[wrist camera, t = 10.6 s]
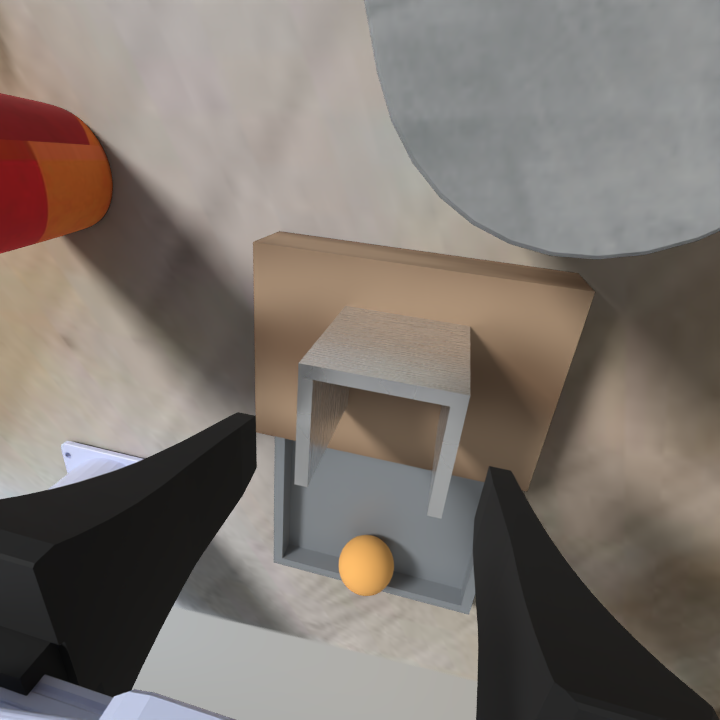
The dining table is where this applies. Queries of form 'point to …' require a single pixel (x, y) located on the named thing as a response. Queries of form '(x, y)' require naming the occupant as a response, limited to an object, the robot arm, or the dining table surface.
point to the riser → (428, 301)
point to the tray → (377, 523)
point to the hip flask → (560, 116)
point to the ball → (366, 565)
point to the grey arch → (384, 383)
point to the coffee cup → (48, 173)
